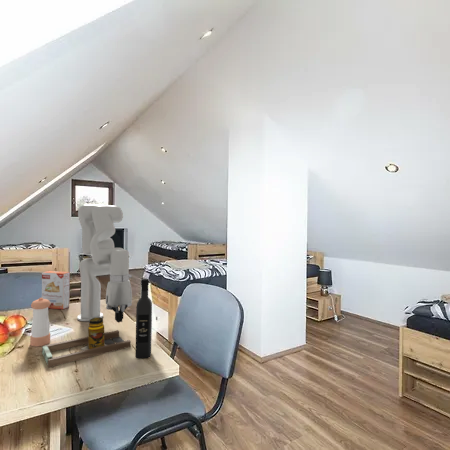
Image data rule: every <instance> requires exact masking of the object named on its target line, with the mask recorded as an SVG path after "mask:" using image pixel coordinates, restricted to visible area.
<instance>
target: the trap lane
mask: <svg viewBox="0 0 450 450" xmlns="http://www.w3.org/2000/svg"><path fill="white" fill-rule="evenodd" d="M104 344H106V345H105V346H101V347H97V348H92V349H88V350H80V351H76V352H73V353H67V354H63V355H59V356H54V357H53V354H52V353H53V352H58V351H61V350H65V349H69V348H74V347H78V346H83V345H89V344H88V336H83V337H79V338H75V339H70V340H65V341H60V342H55V343H49V344H46V345H43V346H41V354H42V356H43V358H44V359H43V360H44V361H45V362H46V364H47V368H52V367H56V366H60V365H65V364H69V363H72V362H76V361H79V360H80V361H81V360H83V359H88V358H91V357H96V356H99V355H104V354H107V353H111V352H116V351H120V350H124V349H127V348H131V347H132V346H131V344H132V343H131V339H127V340H124V339H122V337H120V331H119V330H118V329H117V330H112V331H107V332H104Z"/></svg>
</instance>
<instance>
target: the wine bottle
mask: <svg viewBox="0 0 450 450" xmlns="http://www.w3.org/2000/svg"><path fill="white" fill-rule="evenodd" d="M149 281H150V280H149V278H140V298H139V299H138V300H137V302H136V307H135V353H134V356H135V357H134V358H135V359H150V358H151V355H152V332H153V331H152V328H153V326H152V325H153V323H152V322H153V301H152V300H151V298H150V297H149V284H150V282H149Z"/></svg>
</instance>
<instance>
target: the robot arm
mask: <svg viewBox="0 0 450 450" xmlns="http://www.w3.org/2000/svg"><path fill="white" fill-rule="evenodd" d="M123 214H124V213H123V211H122V208H121V207H120V206H118V205H111V204H95V203H85V204H82V205H80V206H79V208H78V211H77V217H78V221H79V223H80V226H81V237H82V238H81V242H82V243H81V246H82V253H83V254H84V255H86V256H91V257H88V258H84V259H82V260H80V262H79V266H78V267H79V275H80V314H78V315H77V316H76V319H77V320H78V321H80V322H89V320H90V319H92V318H97V317H100V318H102V319H103V317H104V313H102V312H101V294H102V293H101V291H102V290H101V287H102V286H101V285H102V284H101V282H100V280H99V279H98V278H97V276H98V277H99V276H107V275H109V281H108V282H107V286H106V291H105V304H106V307H105V309H106V310H110V311H113V312H114V320H115V321H116V322H117V323H122V322H123V320H124V312H125V310H126V309H127V308H129V307H131V306H132V305H133V303H132V301H133V291H132V284H131V280H130V278H132V276H133V275H132V274H130V273H129V270H130V269H129V268H130V265H129V263H130V261H129V260H130V259H129V258H130V253H129V250H127V249H124V248H122V247H115V242H114V240H113V238H111V237H113V236H114V235H115V234H116V227H115V224H114V223H120V222H122V220H123V218H124V215H123Z"/></svg>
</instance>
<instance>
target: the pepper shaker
mask: <svg viewBox="0 0 450 450" xmlns="http://www.w3.org/2000/svg"><path fill="white" fill-rule="evenodd" d="M30 306H31V309H32V322H31V328H30V329H31V331H30V332H31V335H30V336H29V337H30V339H29V340H30V341H29V342H30V343H29V344H30V346H31V347H42V346H45V345H49V344H51V333H50V329H51V328H50V327H51V326H50V319H49V318H50V317H49V308H48V307H49V306H50V301H49V300H47V299H43V298H42V297H39V298H38V299H35V300H33V301H32V302H31V304H30Z"/></svg>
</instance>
